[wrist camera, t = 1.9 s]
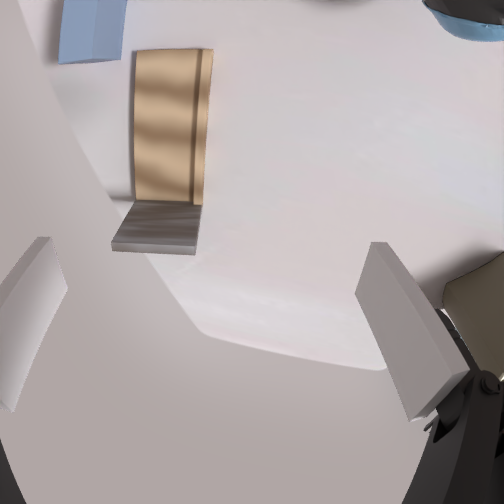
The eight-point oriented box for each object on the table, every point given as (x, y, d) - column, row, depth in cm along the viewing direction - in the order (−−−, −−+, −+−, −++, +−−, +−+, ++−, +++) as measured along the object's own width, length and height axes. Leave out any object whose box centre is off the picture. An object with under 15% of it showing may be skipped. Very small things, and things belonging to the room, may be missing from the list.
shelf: (140, 51, 32) (102, 45, 21) (213, 50, 33) (207, 40, 22) (139, 202, 45) (112, 251, 33) (202, 205, 46) (195, 255, 35)
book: (441, 308, 66) (489, 396, 43) (442, 283, 61) (500, 377, 38) (500, 276, 62) (554, 350, 39) (505, 250, 57) (567, 326, 34)
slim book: (99, -6, 26) (67, -20, 17) (128, -10, 26) (102, -28, 18) (92, 62, 32) (58, 64, 23) (121, 59, 32) (91, 58, 24)
